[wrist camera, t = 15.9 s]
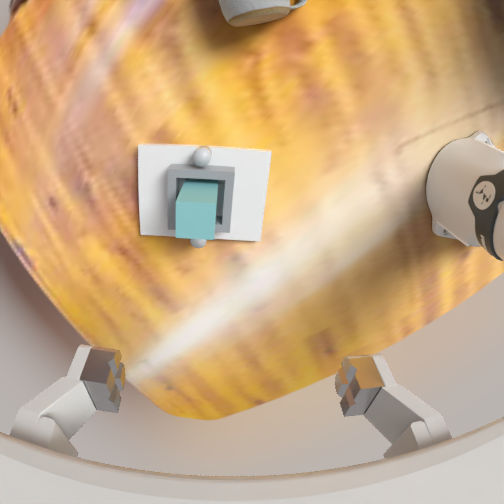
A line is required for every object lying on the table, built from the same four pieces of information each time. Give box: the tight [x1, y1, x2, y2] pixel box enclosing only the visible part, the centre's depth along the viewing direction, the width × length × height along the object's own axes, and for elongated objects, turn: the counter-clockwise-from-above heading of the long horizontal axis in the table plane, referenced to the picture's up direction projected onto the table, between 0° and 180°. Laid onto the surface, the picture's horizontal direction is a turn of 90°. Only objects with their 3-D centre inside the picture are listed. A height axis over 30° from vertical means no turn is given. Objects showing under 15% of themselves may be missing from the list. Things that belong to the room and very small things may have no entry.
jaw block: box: [176, 178, 219, 240], centre depth 35 cm, size 4×4×8 cm
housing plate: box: [138, 144, 272, 248], centre depth 38 cm, size 16×12×4 cm
